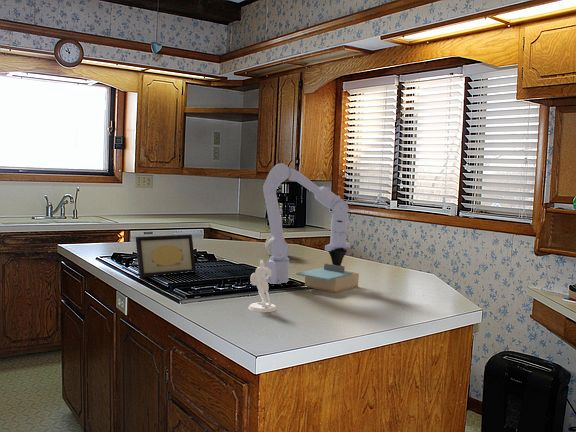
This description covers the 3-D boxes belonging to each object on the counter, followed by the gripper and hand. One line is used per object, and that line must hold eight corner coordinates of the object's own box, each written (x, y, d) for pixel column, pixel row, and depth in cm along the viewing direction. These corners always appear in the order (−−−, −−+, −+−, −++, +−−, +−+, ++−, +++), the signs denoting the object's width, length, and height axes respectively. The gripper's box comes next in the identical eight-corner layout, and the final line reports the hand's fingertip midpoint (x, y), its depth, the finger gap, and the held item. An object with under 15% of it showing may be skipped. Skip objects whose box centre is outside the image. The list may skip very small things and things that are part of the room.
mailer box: (335, 292, 203) (336, 278, 202) (304, 286, 210) (305, 273, 210) (358, 286, 215) (358, 273, 215) (328, 281, 223) (329, 268, 223)
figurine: (242, 307, 176) (244, 258, 174) (263, 303, 182) (265, 256, 181) (261, 313, 170) (263, 262, 168) (283, 309, 176) (285, 260, 174)
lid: (328, 280, 198) (328, 272, 197) (296, 274, 206) (296, 266, 205) (352, 274, 211) (352, 267, 211) (321, 269, 219) (321, 262, 218)
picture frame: (141, 278, 212) (140, 237, 212) (130, 276, 218) (129, 236, 218) (196, 273, 226) (195, 234, 226) (184, 271, 233) (183, 234, 233)
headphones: (287, 259, 270) (289, 216, 268) (265, 258, 269) (267, 215, 267) (284, 253, 288) (286, 213, 286) (264, 252, 287) (266, 212, 286)
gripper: (337, 234, 205) (335, 272, 206) (357, 232, 217) (355, 267, 218) (320, 232, 209) (318, 269, 210) (341, 230, 221) (339, 265, 222)
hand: (336, 268), depth 215 cm, fingers closed
